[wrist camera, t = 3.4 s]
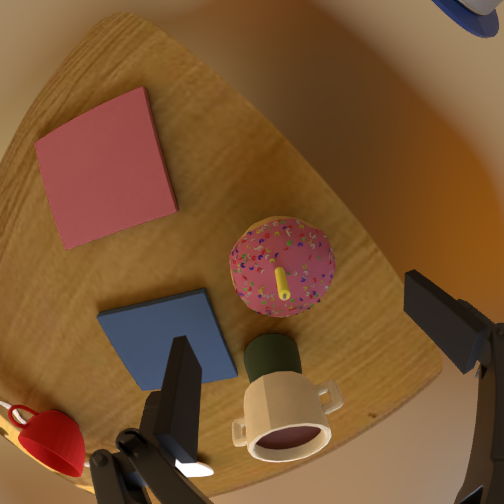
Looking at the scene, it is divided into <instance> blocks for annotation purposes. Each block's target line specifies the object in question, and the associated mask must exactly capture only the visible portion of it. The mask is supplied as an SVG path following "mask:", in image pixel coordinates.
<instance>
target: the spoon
mask: <svg viewBox="0 0 504 504" xmlns="http://www.w3.org/2000/svg"><path fill="white" fill-rule="evenodd" d="M85 465H86V467H90V465H89V462H84V466H85ZM175 466H176V467H177V468H178V469H179V470H180V471H181V472H182V473H183V474H184V475H185V476H186V477H199V476H209V475H212V474H213V473H214V471H213V469H212V468H211V467H210V466H208V465H207V464H204V463H201V462H197V463H188V464H181V463H180V462H179V461H178V460H177V459H176V465H175Z"/></svg>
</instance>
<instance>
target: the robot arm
mask: <svg viewBox="0 0 504 504" xmlns="http://www.w3.org/2000/svg"><path fill="white" fill-rule="evenodd" d="M454 1H455V2H456V3H458V4H459V5H460V6H461V7H463V8H464V9H465V10H467V11H468V12H470V13H471V14H473V15H476V16H485V15H488V14H489V13H491V12H492V11H493V10H494V9H495V8H496V7H497V6H498V5H499V4H500V3H501V2H502V1H503V0H454ZM404 311H405V312H406V313H407V314H408V315H409V316H410V317H411V318H412V319H413V320H414V321H415V323H416V324H417V325H418V326H419V327H420V328H421V329H422V330H423V331H424V332H425V333H426V334H427V335H428V336H429V337H430V338H431V339H432V340H433V341H434V342H435V343H436V344H437V346H438V347H439V348H440V349H441V350H442V351H443V352H444V353H445V354H446V355H447V356H448V358H449V359H450V360H452V362H453V363H454V364H455V365H456V366H457V368H458V369H459V370H460V371H461V372H462V373H463V374H465V373H467V372H468V371H470V370H471V369H473V368H474V366H475V363H476V361H477V360H478V361H479V362H480V365H479V368H478V370H477V373H476V375H475V378H477V376H478V374H479V387H478V404H477V415H476V424H475V431H474V438H473V444H472V450H471V455H470V460H469V464H468V469H467V473H466V477H465V481H464V483H463V486H462V487H461V489H460V491H459V492H458V495H457V497H456V499H455V502H454V504H504V323H497V324H494V323H493V322H492V321H491V320H490V319H488V318H487V317H486V316H485V315H483V314H482V313H481V312H480V311H478V310H477V309H476V308H474V307H473V306H472V305H471V304H469V303H468V302H467V301H464V300H461V299H458V300H455V299H454V298H453V297H451V296H450V295H449V294H447V293H446V292H444V291H443V290H442V289H441V288H439V287H438V286H437V285H435V284H434V283H433V282H431V281H430V280H429V279H427V278H426V277H424V276H423V275H422V274H420V273H419V272H417V271H416V270H415V269H414V270H411V271H409V272H406V273H405V288H404ZM201 382H202V367H201V365H200V363H199V361H198V359H197V357H196V355H195V353H194V351H193V349H192V347H191V345H190V343H189V341H188V339H187V337H186V335H184V336H179V337H174V338H173V341H172V345H171V349H170V353H169V358H168V362H167V366H166V370H165V375H164V379H163V384H162V388H161V391H154V392H151V393H150V395H149V396H148V398H147V399H146V403H145V407H144V408H145V409H144V411H143V416H142V419H141V423H140V427H139V430H138V429H135V428H128V429H125V430H123V431H122V432H121V433H120V434H119V435H118V436H117V438H116V447H117V448H118V449H119V450H120V451H121V452H118V453H114V454H111V453H110V452H109V451H108V450H105V449H99V450H97V451H95V452H94V453H93V454H92V455H91V457H90V459H89V465H90V471H91V476H92V481H93V486H94V490H95V495H96V499H97V503H98V504H152V503H151V500H150V498H149V495H148V493H147V491H146V488H145V486H148V487H149V489H150V490H151V491H152V492H153V494H154V495H155V496H156V498H157V499H158V500H159V501H160V503H161V504H214V503H213V502H212V501H211V500H209V499H208V498H207V497H206V496H205V495H204V494H203V493H202V492H201V491H200V490H199V489H198V488H197V487H196V486H195V485H194V484H193V483H192V482H191V481H190V480H189V479H188V478H187V477H186V476H185V475H184V474H183V473H182V472H181V471H180V470H179V469H178V468H177V467H176V466H175V465H176V459H177V460H178V461H179V462H180V463H181V464H188V463H197V450H198V429H199V412H200V396H201Z"/></svg>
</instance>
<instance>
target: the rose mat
mask: <svg viewBox="0 0 504 504" xmlns="http://www.w3.org/2000/svg"><path fill="white" fill-rule="evenodd" d="M35 148H36V153H37V158H38V162H39V167H40V171H41V175H42V179H43V183H44V187H45V190H46V194H47V197H48V201H49V204H50V207H51V211H52V214H53V217H54V220H55V223H56V226H57V229H58V231H59V234H60V237H61V240H62V242H63V245H64V248H65V250H68V249H71V248H73V247H76V246H79V245H81V244H84V243H87V242H90V241H92V240H95V239H98V238H101V237H103V236H106V235H109V234H112V233H115V232H118V231H121V230H124V229H126V228H129V227H132V226H135V225H139V224H142V223H145V222H148V221H151V220H154V219H157V218H160V217H164V216H167V215H170V214H173V213H176V212H177V211H178V210H179V209H178V206H177V202H176V199H175V196H174V192H173V189H172V186H171V182H170V179H169V175H168V172H167V168H166V165H165V161H164V158H163V154H162V150H161V147H160V143H159V139H158V135H157V131H156V127H155V123H154V119H153V115H152V111H151V107H150V103H149V99H148V94H147V90H146V88H145V87H144V86H142V87H139V88H137V89H134V90H132V91H129V92H127V93H125V94H122V95H120V96H118V97H116V98H113V99H111V100H109V101H107V102H105V103H103V104H101V105H99V106H97V107H95V108H93V109H91V110H89V111H87V112H85V113H83V114H81V115H79V116H77V117H76V118H74V119H72V120H70V121H69V122H67V123H65V124H63V125H62V126H60V127H58V128H57V129H55V130H53V131H52V132H50V133H49V134H47V135H45V136H44V137H42V138H41V139H39V140H38V141H36V142H35Z"/></svg>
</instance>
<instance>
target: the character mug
mask: <svg viewBox="0 0 504 504" xmlns="http://www.w3.org/2000/svg"><path fill="white" fill-rule="evenodd" d="M244 363H245V367H246V371H247V374H248V377H249V380H250V384H251V385H250V386H249V387H248V389H247V390H246V392H245V396H244V414H245V416H244V417H241V418H238V419H236V420H234V421H233V423H232V439H233V443H234V445H235V446H245V445H247V447H248V452H249V453H250V454H251V455H252V456H253V457H254V458H257V459H260V460H263V461H269V462H286V461H293V460H298V459H302V458H305V457H307V456H310V455H312V454H314V453H316V452H317V451H319V450H321V449H322V448H323V447H324V446H325V445H326V444H327V443H328V442H329V440H330V438H331V431H330V427H329V423H328V420H327V418H326V414H328V413H330V412H332V411H334V410H337V409H339V408H340V407H341V406H342V405H343V404H344V399H343V396H342V394H341V392H340V390H339V387H338V385H337V383H336V382H335V381H334V380H327V381H325V382H323V383H321V384H319V385H317V386H315V384H313V383H312V382H311V381H310V380H309V379H308V378H307V377H306V376H304V375H303V374H302V368H301V361H300V356H299V351H298V347H297V344H296V343H295V342H294V341H293V340H291V339H290V338H289V337H286V336H283V335H280V334H266V335H262V336H260V337H258V338H256V339H254V340H252V341H251V343H250V344H249V345H248V347H247V348H246V349H245V354H244ZM326 392H329V394H330V397H331V399H332V400H331V401H329V402H327V403H325V404H323V405H322V404H321V401H320V398H319V395H321V394H323V393H326ZM243 426H246V435H245V436H242V427H243Z"/></svg>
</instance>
